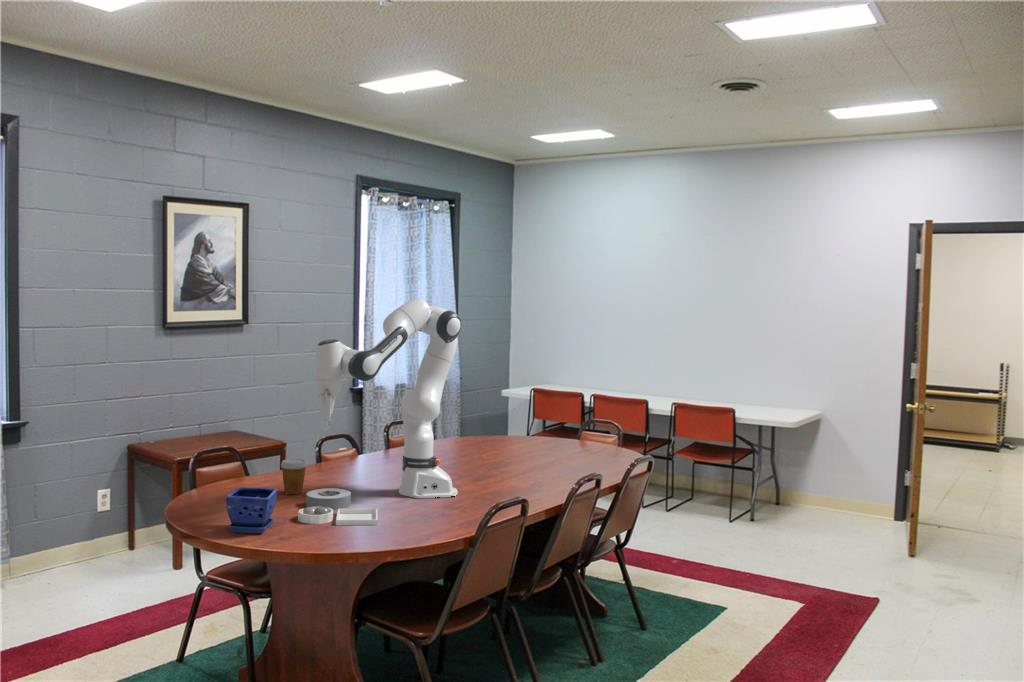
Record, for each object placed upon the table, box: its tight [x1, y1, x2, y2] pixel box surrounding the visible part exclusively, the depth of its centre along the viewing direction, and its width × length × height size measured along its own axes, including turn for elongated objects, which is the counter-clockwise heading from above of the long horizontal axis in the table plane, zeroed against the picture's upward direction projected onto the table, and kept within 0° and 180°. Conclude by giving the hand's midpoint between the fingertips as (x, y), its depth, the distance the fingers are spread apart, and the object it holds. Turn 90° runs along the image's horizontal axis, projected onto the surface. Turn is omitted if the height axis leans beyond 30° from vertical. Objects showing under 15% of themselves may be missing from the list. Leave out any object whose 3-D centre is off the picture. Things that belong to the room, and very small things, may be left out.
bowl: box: [297, 507, 334, 525], centre depth 273 cm, size 11×11×4 cm
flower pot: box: [225, 486, 278, 534], centre depth 261 cm, size 13×13×12 cm
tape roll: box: [305, 487, 352, 511], centre depth 292 cm, size 15×15×5 cm
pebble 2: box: [316, 507, 328, 515], centre depth 273 cm, size 4×4×4 cm
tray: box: [335, 507, 379, 526], centre depth 275 cm, size 13×15×2 cm
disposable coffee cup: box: [280, 458, 308, 495], centre depth 309 cm, size 10×10×12 cm
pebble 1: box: [302, 506, 316, 515], centre depth 272 cm, size 4×4×4 cm
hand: (326, 427), depth 283 cm, fingers open, 8 cm apart
